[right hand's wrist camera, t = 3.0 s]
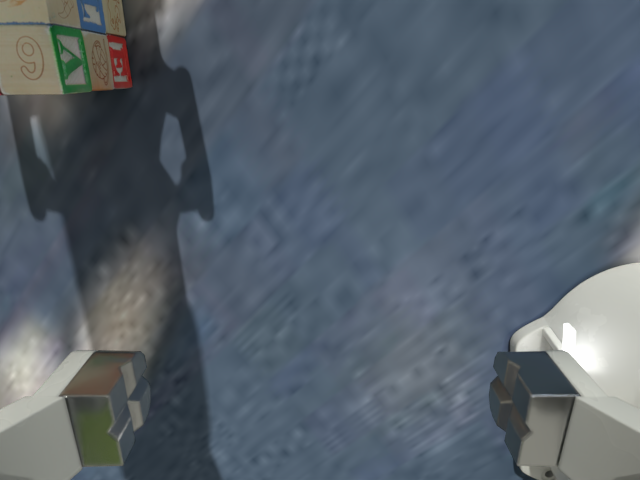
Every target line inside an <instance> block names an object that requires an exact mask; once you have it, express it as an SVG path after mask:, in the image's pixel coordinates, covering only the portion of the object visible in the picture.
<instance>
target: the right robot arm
mask: <svg viewBox="0 0 640 480" xmlns="http://www.w3.org/2000/svg"><path fill="white" fill-rule="evenodd" d="M146 368H147V365H146V361H145V356H144V354H143V353H142V352H141V351H102V350H99V351H96V350H77V351H74V352H71V353H70V354H69V355H68V356H67V358H66V359H65V360H64V361H63V362H62V363H61V364H60V365H59V367H58V368H57V369H56V370H55V371H54V372H53V373H52V374H51V376H50V377H49V378H48V379H47V380H46V381H45V382H44V384H43V385H42V386H41V387H40V388H39V389H38V390H37V391H36V393H35V394H34V395H33V396H32V397H23V398H21V399H19V400H17V401H15V402H13V403H11V404H9V405H7V406H5V407H3V408H1V409H0V480H70V479H71V478H72V477H74V476H75V475H76V474H77V473H78V472H80V471H81V470H82V467H93V466H123V465H124V463H125V461H126V459H127V457H128V455H129V453H130V451H131V449H132V447H133V445H134V443H135V435H134V432H135V431H136V430H137V429H139V428H140V427H142V426H143V425H144V423H145V420H146V418H147V416H148V413H149V408H150V403H151V390H150V383H149V382H148V381H147V380H146V379H145V378H144V377H143V376H142V375H143V373H144V371H145V369H146ZM493 368H494V369H495V371H496V373H497V375H498V376H497V377H496V378H495V379H494V380H493V381H492V382H491V383H490V391H489V402H490V409H491V413H492V416H493V418H494V421H495V423H496V425H497V426H498V427H500V428H501V429H503V430H504V431H505V432H506V435H505V443H506V445H507V447H508V449H509V451H510V453H511V455H512V457H513V459H514V461H515V463H516V465H517V466H519V468H520V469H521V471H522V472H523V473H525V474H527V475H528V476H530V477H532V478H535V479H537V480H640V263H632V264H626V265H622V266H618V267H614V268H611V269H608V270H606V271H603V272H601V273H599V274H597V275H595V276H593V277H591V278H589V279H587V280H585V281H584V282H582V283H581V284H579V285H578V286H576V287H575V288H574V289H572V290H571V291H570V292H569V293H568V294H567V295H565V296H564V297H563V298H562V299H561V300H560V301H559V302H558V303H557V304H556V305H555V306H554V308H553V309H552V310H550V311H549V312H548V313H547V314H546V315H545V316H543V317H541V318H539V319H537V320H535V321H533V322H531V323H529V324H527V325H526V326H524V327H522V328H521V329H519V330H518V331H516V332H515V333H514V334H513V336H512V337H511V340H510V352H497V354H496V356H495V360H494V365H493Z"/></svg>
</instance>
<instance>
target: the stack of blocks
mask: <svg viewBox="0 0 640 480" xmlns="http://www.w3.org/2000/svg"><path fill="white" fill-rule="evenodd" d="M125 36H126V29H125V21H124V14H123V7H122V0H0V95H48V94H53V95H58V94H74V93H83V92H91V91H101V90H113V89H126V88H131V87H132V79H131V73H130V67H129V60H128V53H127V48H126V40H125Z"/></svg>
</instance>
